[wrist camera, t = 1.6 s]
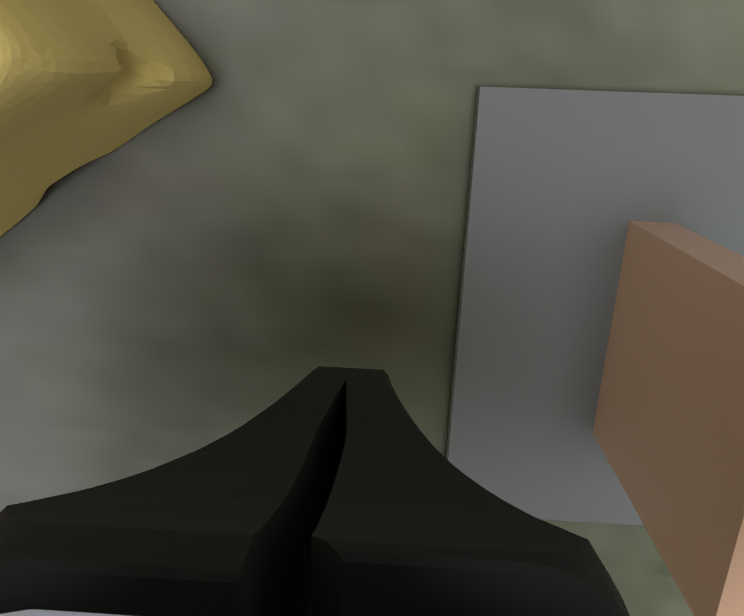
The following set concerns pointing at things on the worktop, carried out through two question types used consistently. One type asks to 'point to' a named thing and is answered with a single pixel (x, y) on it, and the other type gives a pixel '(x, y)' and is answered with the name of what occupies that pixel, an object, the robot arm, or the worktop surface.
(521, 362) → the mat
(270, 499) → the robot arm
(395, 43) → the worktop surface
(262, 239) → the worktop surface
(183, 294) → the worktop surface
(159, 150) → the worktop surface
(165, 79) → the cheese
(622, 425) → the tile
